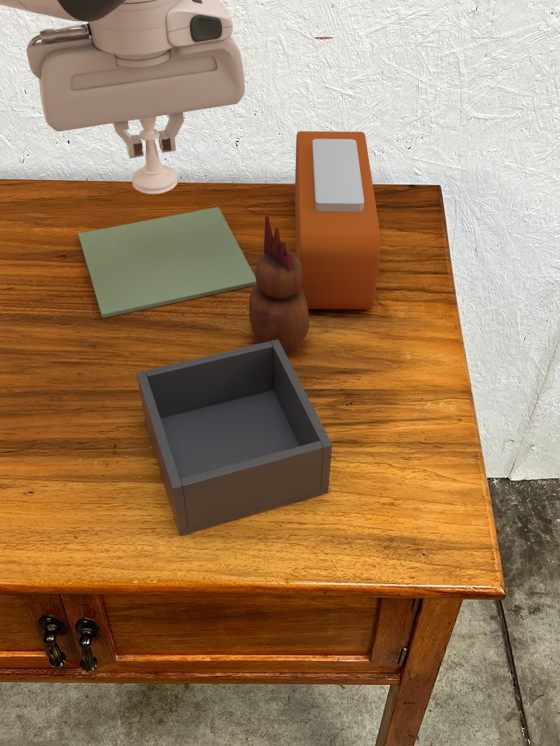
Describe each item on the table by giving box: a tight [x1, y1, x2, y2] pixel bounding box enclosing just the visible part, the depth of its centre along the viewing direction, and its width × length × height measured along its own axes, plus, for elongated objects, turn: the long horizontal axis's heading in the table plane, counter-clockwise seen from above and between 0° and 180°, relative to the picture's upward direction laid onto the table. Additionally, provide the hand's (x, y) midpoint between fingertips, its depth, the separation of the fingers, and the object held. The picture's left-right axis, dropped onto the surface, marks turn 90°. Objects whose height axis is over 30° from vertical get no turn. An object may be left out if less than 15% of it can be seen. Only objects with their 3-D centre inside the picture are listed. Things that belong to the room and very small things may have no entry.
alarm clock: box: [294, 130, 382, 310], centre depth 90 cm, size 24×8×11 cm, turn 0°
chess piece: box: [131, 116, 179, 195], centre depth 81 cm, size 5×5×10 cm
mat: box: [77, 206, 256, 319], centre depth 92 cm, size 18×16×1 cm
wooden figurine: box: [248, 215, 310, 356], centre depth 77 cm, size 7×6×15 cm
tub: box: [136, 339, 333, 537], centre depth 70 cm, size 14×14×7 cm
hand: (151, 152), depth 82 cm, fingers closed on chess piece
